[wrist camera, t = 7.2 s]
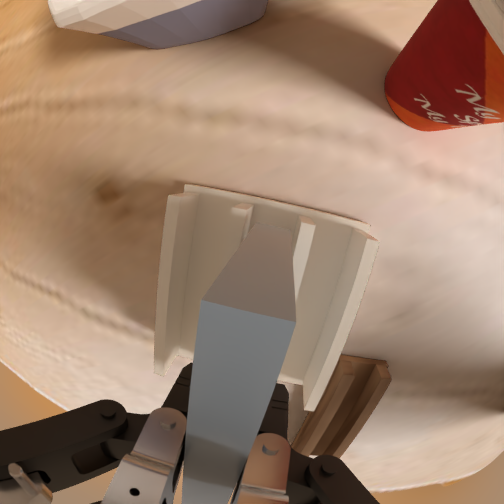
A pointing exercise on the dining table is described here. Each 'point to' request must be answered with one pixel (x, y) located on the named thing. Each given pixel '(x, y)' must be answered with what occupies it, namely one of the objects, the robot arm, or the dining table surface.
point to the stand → (343, 406)
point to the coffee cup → (451, 68)
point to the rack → (304, 267)
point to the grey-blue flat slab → (237, 361)
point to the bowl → (156, 18)
